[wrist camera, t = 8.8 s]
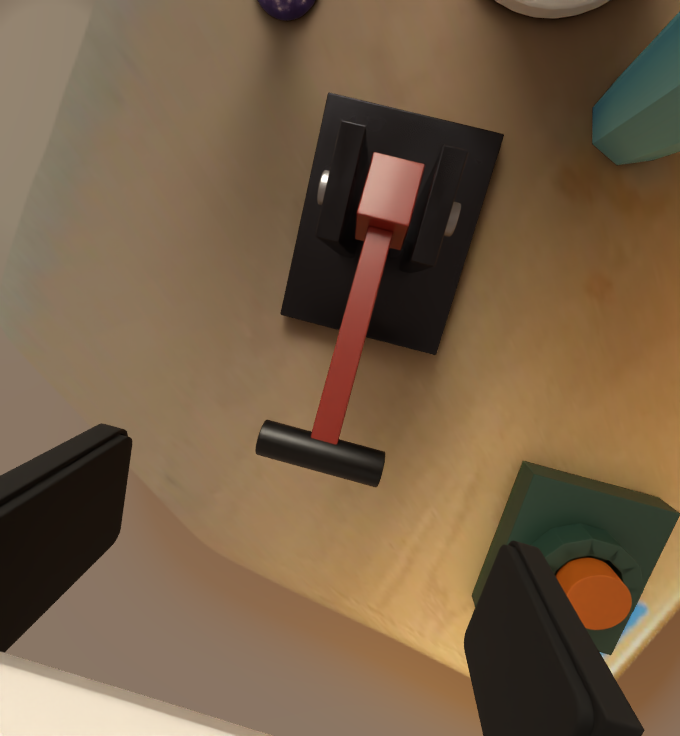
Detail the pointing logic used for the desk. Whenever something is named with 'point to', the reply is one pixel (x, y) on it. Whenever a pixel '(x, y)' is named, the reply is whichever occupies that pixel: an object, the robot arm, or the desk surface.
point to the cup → (643, 104)
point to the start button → (595, 592)
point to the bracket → (426, 231)
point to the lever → (353, 331)
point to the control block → (584, 530)
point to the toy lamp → (286, 8)
